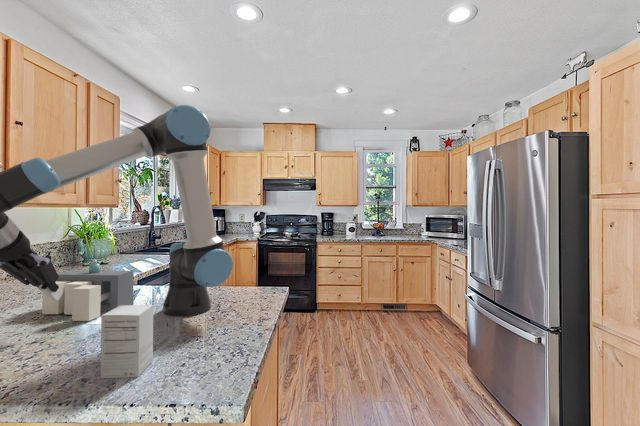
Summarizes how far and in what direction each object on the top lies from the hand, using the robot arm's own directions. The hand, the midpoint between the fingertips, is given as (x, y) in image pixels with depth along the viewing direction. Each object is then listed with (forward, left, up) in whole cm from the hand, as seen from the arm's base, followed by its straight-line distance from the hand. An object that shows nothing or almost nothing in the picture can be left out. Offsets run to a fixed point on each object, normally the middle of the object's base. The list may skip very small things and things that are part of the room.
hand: (57, 296), depth 88 cm
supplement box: (-31, +21, -10) cm, 39 cm away
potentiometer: (+7, -24, +2) cm, 25 cm away
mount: (+7, -21, -10) cm, 24 cm away
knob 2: (0, -15, -9) cm, 17 cm away
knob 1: (+14, -21, -9) cm, 26 cm away
